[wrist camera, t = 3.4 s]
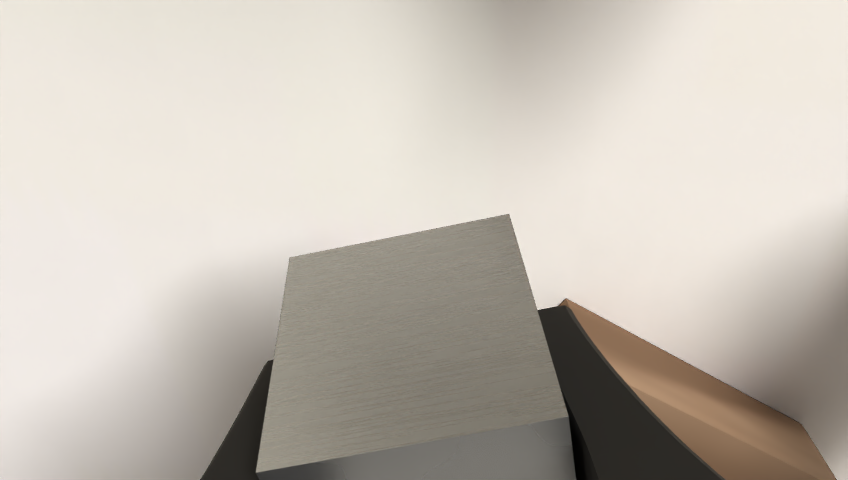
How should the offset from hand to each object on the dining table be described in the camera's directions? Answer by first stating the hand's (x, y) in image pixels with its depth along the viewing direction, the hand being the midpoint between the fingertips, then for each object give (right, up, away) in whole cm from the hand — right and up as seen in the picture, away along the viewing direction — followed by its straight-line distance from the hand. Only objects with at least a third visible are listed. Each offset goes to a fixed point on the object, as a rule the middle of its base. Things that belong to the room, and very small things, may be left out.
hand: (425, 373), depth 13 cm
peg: (0, +1, +1) cm, 2 cm away
